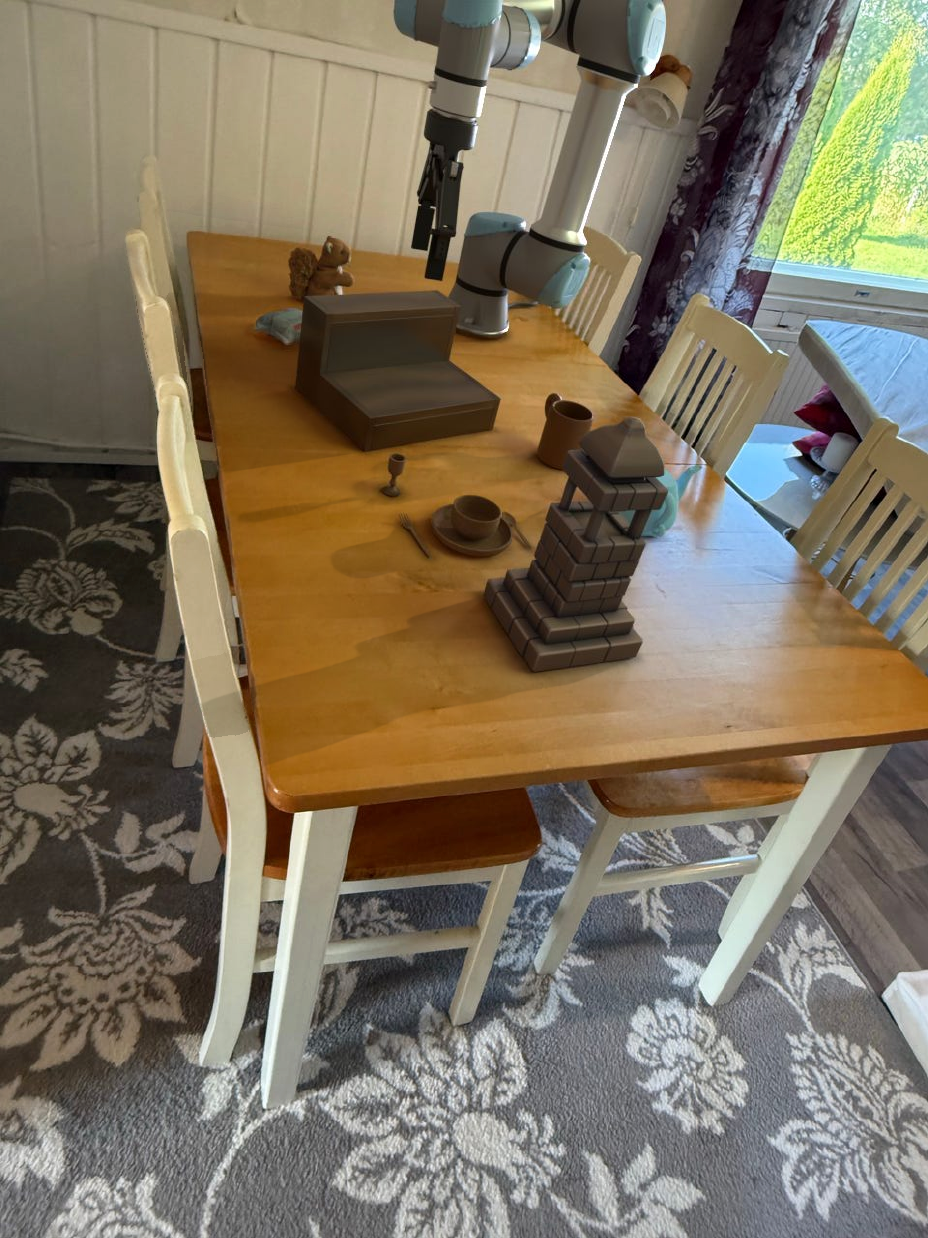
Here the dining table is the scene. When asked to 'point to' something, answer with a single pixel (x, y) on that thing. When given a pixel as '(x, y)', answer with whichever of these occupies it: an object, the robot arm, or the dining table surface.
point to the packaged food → (282, 325)
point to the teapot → (665, 504)
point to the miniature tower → (585, 555)
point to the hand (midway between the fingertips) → (425, 263)
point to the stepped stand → (389, 368)
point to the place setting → (462, 520)
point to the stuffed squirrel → (320, 270)
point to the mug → (562, 429)
